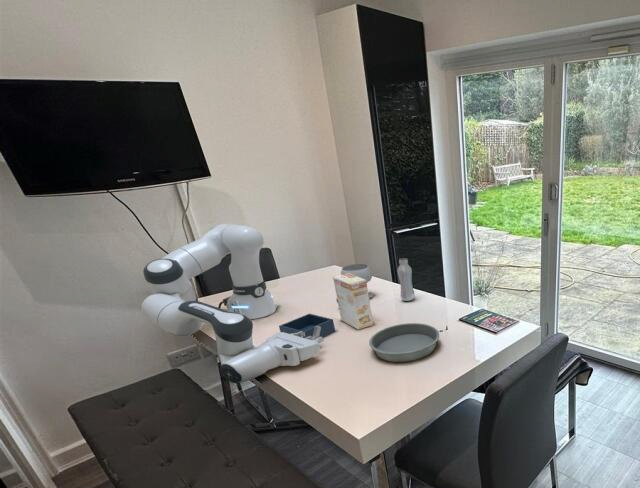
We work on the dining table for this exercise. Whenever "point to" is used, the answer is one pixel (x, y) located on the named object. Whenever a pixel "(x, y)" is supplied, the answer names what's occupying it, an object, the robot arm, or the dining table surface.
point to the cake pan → (404, 342)
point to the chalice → (359, 272)
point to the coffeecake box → (353, 300)
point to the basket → (309, 325)
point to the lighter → (315, 333)
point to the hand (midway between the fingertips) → (312, 335)
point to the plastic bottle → (405, 280)
